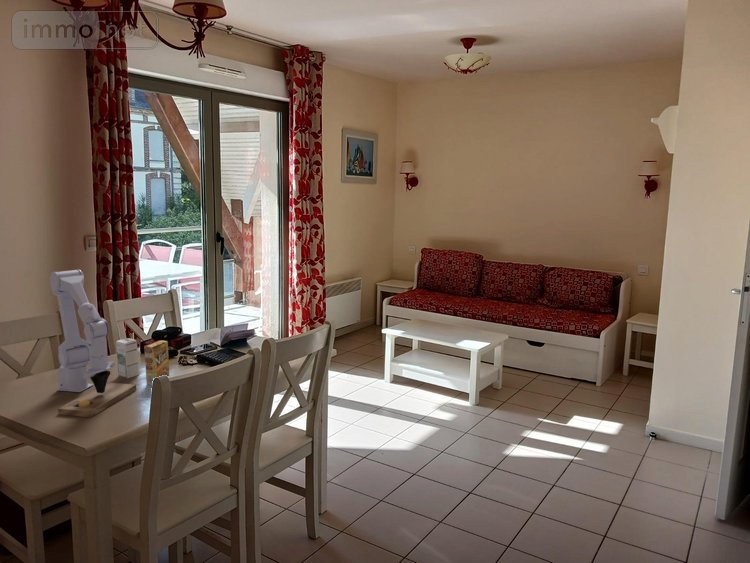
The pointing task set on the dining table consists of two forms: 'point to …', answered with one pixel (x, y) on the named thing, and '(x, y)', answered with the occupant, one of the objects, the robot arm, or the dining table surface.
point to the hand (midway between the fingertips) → (100, 392)
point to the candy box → (156, 360)
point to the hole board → (97, 400)
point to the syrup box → (127, 358)
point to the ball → (84, 403)
